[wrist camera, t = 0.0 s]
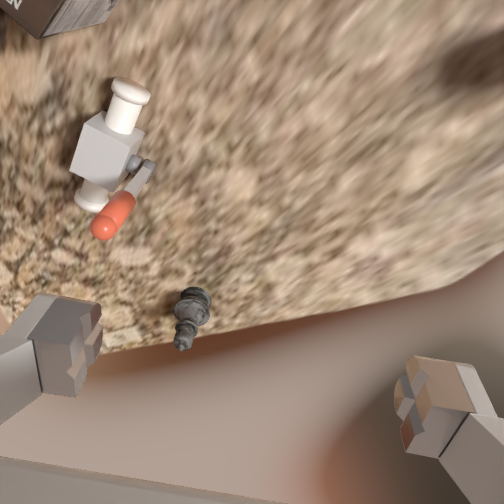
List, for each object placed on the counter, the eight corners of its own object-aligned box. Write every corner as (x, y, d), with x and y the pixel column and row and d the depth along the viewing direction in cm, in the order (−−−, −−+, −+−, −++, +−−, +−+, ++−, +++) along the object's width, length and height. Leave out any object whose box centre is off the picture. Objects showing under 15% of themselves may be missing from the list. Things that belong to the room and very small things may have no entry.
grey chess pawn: (203, 281, 71) (188, 332, 61) (218, 308, 74) (206, 360, 63) (172, 290, 72) (152, 341, 62) (188, 316, 75) (171, 368, 65)
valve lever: (145, 153, 58) (90, 216, 43) (162, 162, 59) (115, 228, 43) (137, 171, 60) (82, 239, 44) (154, 180, 60) (106, 250, 45)
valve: (116, 71, 54) (97, 80, 49) (169, 100, 56) (156, 113, 51) (77, 185, 63) (58, 204, 58) (124, 208, 65) (109, 228, 60)
